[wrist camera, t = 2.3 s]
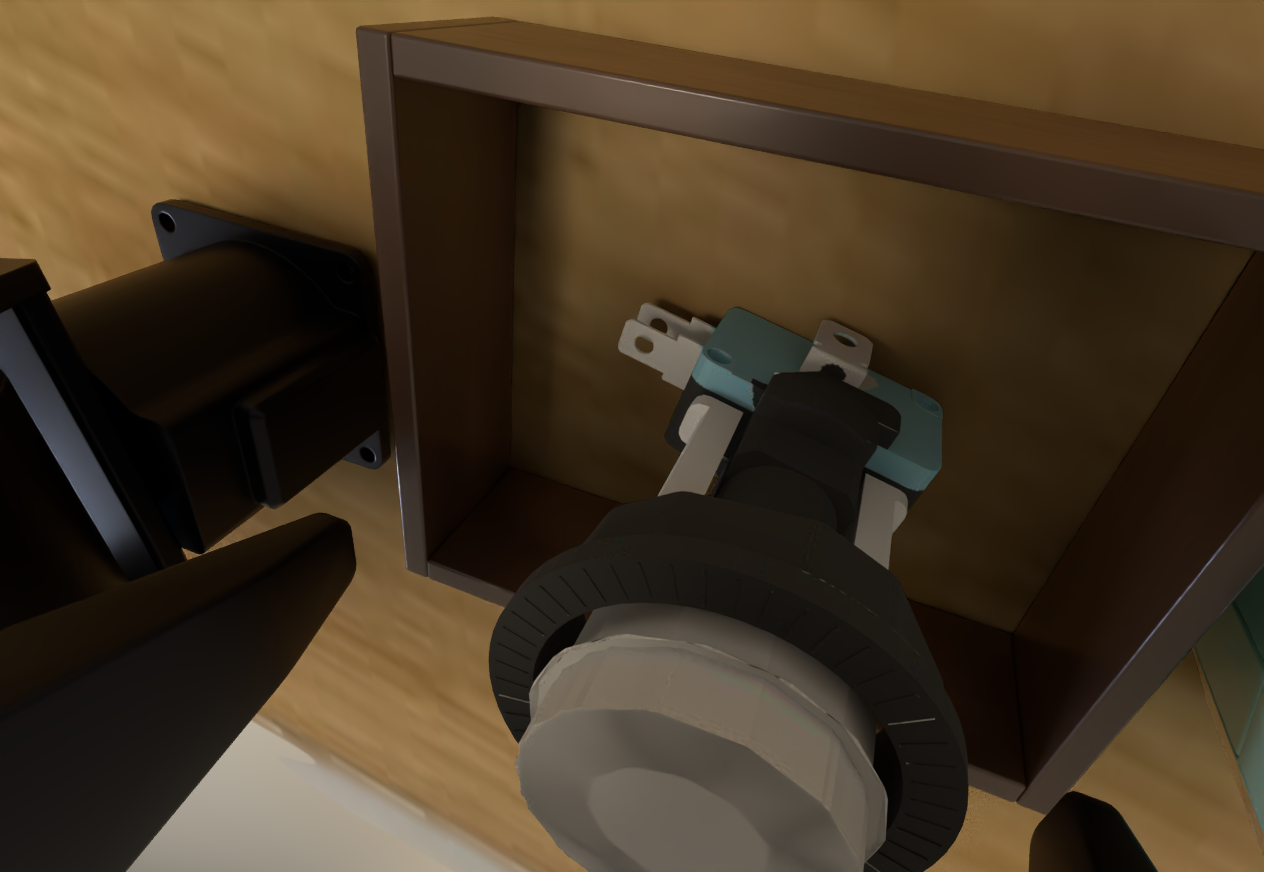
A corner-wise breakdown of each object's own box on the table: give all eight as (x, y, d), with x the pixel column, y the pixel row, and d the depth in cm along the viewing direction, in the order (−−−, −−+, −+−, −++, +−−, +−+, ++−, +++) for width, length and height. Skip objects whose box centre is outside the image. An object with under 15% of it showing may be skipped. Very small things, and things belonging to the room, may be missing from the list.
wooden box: (491, 477, 20) (405, 571, 17) (492, 16, 14) (352, 25, 10) (1028, 659, 17) (1048, 818, 13) (1360, 165, 10) (1545, 245, 7)
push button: (612, 398, 17) (324, 757, 9) (691, 186, 14) (352, 455, 6) (868, 527, 16) (798, 1038, 8) (1014, 336, 13) (1124, 868, 5)
